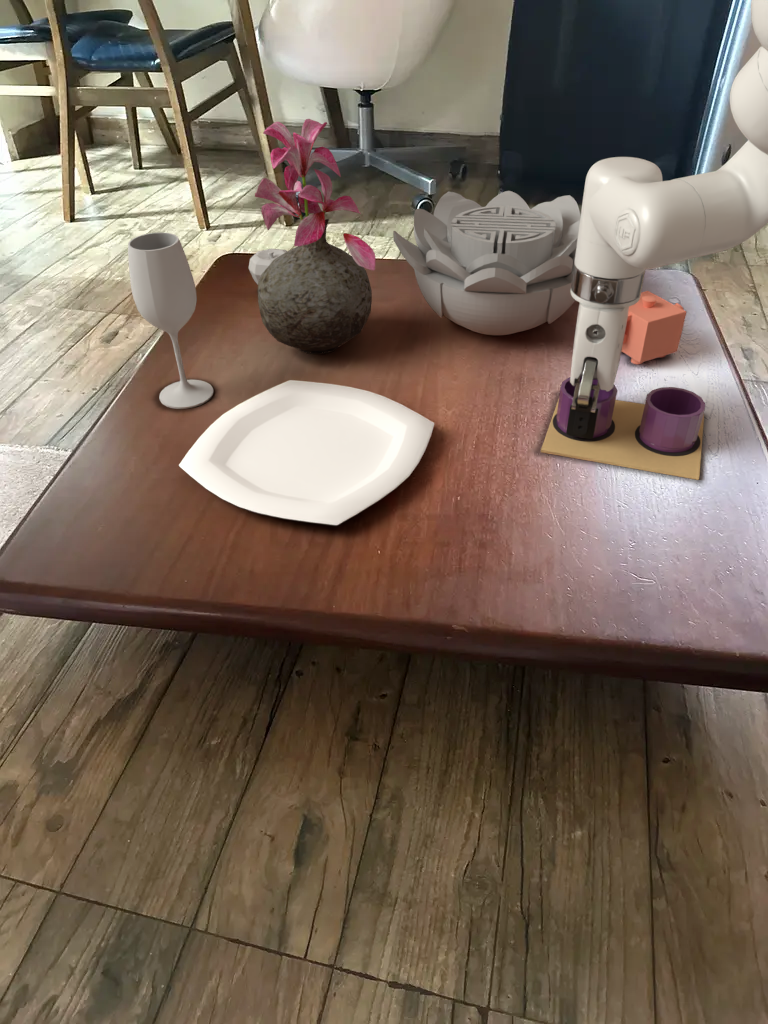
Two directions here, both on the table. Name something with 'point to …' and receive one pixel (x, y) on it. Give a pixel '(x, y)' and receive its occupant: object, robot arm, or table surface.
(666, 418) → the plum dish
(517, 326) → the decorative bowl
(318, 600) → the table surface
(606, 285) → the robot arm
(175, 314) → the wineglass
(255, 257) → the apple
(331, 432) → the plate
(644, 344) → the pink cube teapot
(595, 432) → the plum dish
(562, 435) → the placemat
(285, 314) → the vase
